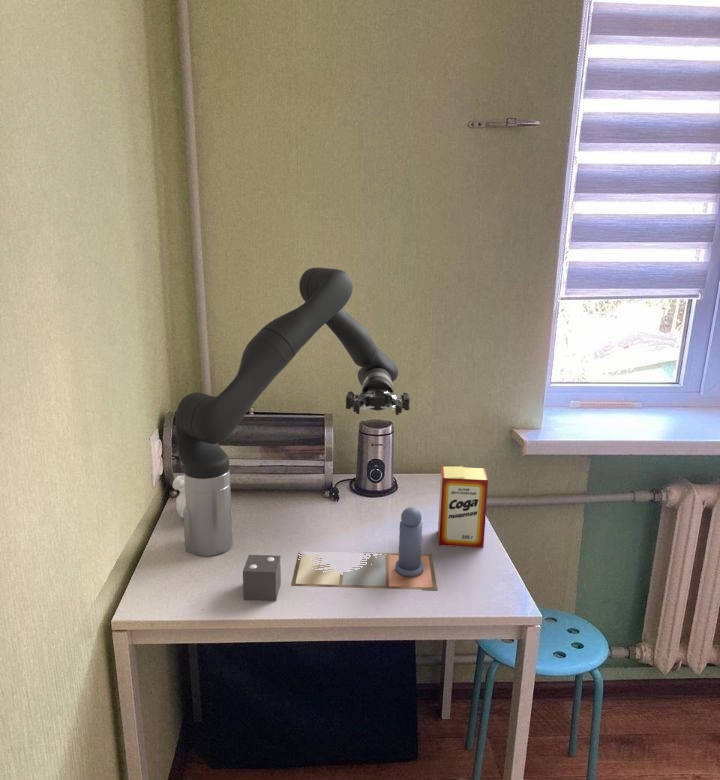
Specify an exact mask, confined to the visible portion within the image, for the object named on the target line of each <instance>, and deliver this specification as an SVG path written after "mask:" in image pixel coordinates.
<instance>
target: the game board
mask: <svg viewBox="0 0 720 780" xmlns="http://www.w3.org/2000/svg"><path fill="white" fill-rule="evenodd" d="M377 553H378V554H380V553H382V555H377V556H373V554H370V555H371V557H370V558H369V559H367V561H360V562H367V564H366V563H360V564H366V565H358V566H363V567H362V568H361V567H352V568H360V569H358V570H355V569H350V570H353V571H350V572H343V575H341V574H340V572H334V571H328V570H335V569H328V570H324V569H323V570H315V569H319V568H324V567H330V566H325V565H320V564H319V565H313V564H317V563H313V562H317V561H314V560H318V559H314V558H318V557H315V556H307V554H305V553H302V554H300V553H297V558H296V562H295V567H294V570H293V574H292V578H291V579H292V580H291V582H290V587H313V588H315V587H317V588H319V587H320V588H347V589H348V588H350V589H351V588H352V589H355V588H356V589H362V588H363V589H383V590H384V589H388V590H389V589H391V590H418V591H420V590H421V591H438V585H437V580H436V579H437V578H436V572H435V566H434V560H433V554H431V553H421V562H422V563H423V565H424V567H423V573H422V574H421V575H420V576H418V577H413V578H408V577H403V576H401V575H399V574H397V573H396V571H395V564H396V562H397V561H398V560H399V552H397V553H396V552H393V553H392V552H377ZM298 554H300V555H302V556H299V555H298ZM385 554H386V555H385ZM311 555H315V554H311ZM364 555H366V554H364ZM316 556H319V555H316ZM299 557H301V558H299ZM311 557H313V558H311ZM367 557H369V556H367ZM375 557H377V558H375ZM363 558H364V557H363ZM298 559H300V560H298ZM310 559H312V560H310ZM319 559H322V558H319ZM362 560H366V559H362ZM310 561H311V562H310ZM318 561H322V560H318ZM309 563H312V564H309ZM319 563H321V562H319ZM371 564H372V565H371ZM310 565H311V566H310ZM326 565H330V564H326ZM320 566H324V567H320ZM316 567H317V568H316ZM312 568H313V569H312ZM340 569H341V568H340ZM323 571H328V572H324V573H323Z"/></svg>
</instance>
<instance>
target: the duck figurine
mask: <svg viewBox="0 0 720 780" xmlns="http://www.w3.org/2000/svg"><path fill="white" fill-rule="evenodd" d="M172 489H174V490H176V491H178V492H179V495H178V496H177V497H176V500H175V502H176V507H175V508H176V512H177V513H178V515H179V516H180V517H181V518H182V519H183V509H184V508H185V506H186V498H185V481H184V474H182V475H178V476H176V477H175V478H174V479H173V482H172Z"/></svg>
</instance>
